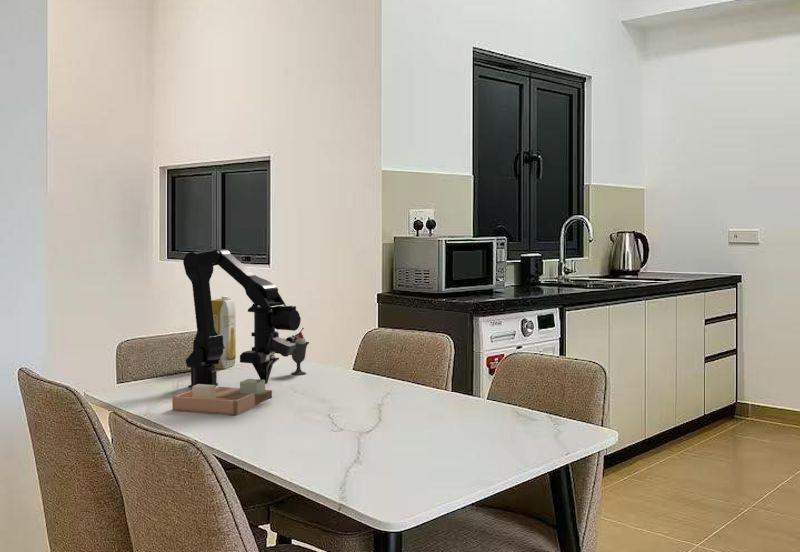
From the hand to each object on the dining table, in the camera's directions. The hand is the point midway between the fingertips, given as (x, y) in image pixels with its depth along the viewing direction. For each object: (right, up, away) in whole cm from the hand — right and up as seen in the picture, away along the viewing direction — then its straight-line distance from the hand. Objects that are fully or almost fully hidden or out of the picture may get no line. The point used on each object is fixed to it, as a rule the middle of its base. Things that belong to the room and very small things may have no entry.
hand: (264, 383), depth 221 cm
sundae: (+5, -1, +32) cm, 32 cm away
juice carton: (-22, -1, +44) cm, 50 cm away
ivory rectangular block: (-13, -1, -15) cm, 20 cm away
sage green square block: (-2, -1, -7) cm, 7 cm away
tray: (-10, -4, -19) cm, 21 cm away
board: (-7, -3, -8) cm, 11 cm away
